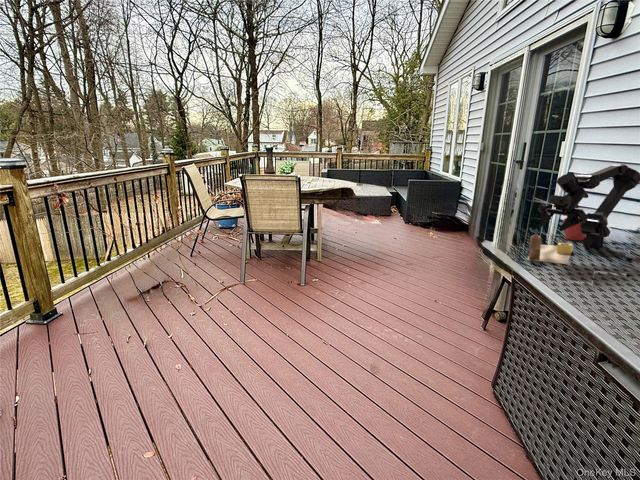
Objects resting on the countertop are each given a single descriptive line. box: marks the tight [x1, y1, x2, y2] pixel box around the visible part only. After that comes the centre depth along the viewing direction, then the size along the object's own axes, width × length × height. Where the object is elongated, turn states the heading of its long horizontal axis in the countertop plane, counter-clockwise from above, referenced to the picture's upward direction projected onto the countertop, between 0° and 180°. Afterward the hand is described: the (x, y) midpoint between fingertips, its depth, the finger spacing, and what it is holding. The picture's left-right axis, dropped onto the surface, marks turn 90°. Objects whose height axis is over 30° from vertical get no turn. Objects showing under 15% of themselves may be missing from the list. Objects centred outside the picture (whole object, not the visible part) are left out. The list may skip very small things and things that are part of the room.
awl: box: [528, 228, 542, 261], centre depth 142 cm, size 4×4×13 cm
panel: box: [526, 244, 574, 265], centre depth 149 cm, size 22×26×1 cm
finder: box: [556, 242, 574, 255], centre depth 148 cm, size 5×4×4 cm
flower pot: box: [563, 217, 586, 241], centre depth 168 cm, size 11×11×10 cm
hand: (549, 228), depth 143 cm, fingers open, 9 cm apart
